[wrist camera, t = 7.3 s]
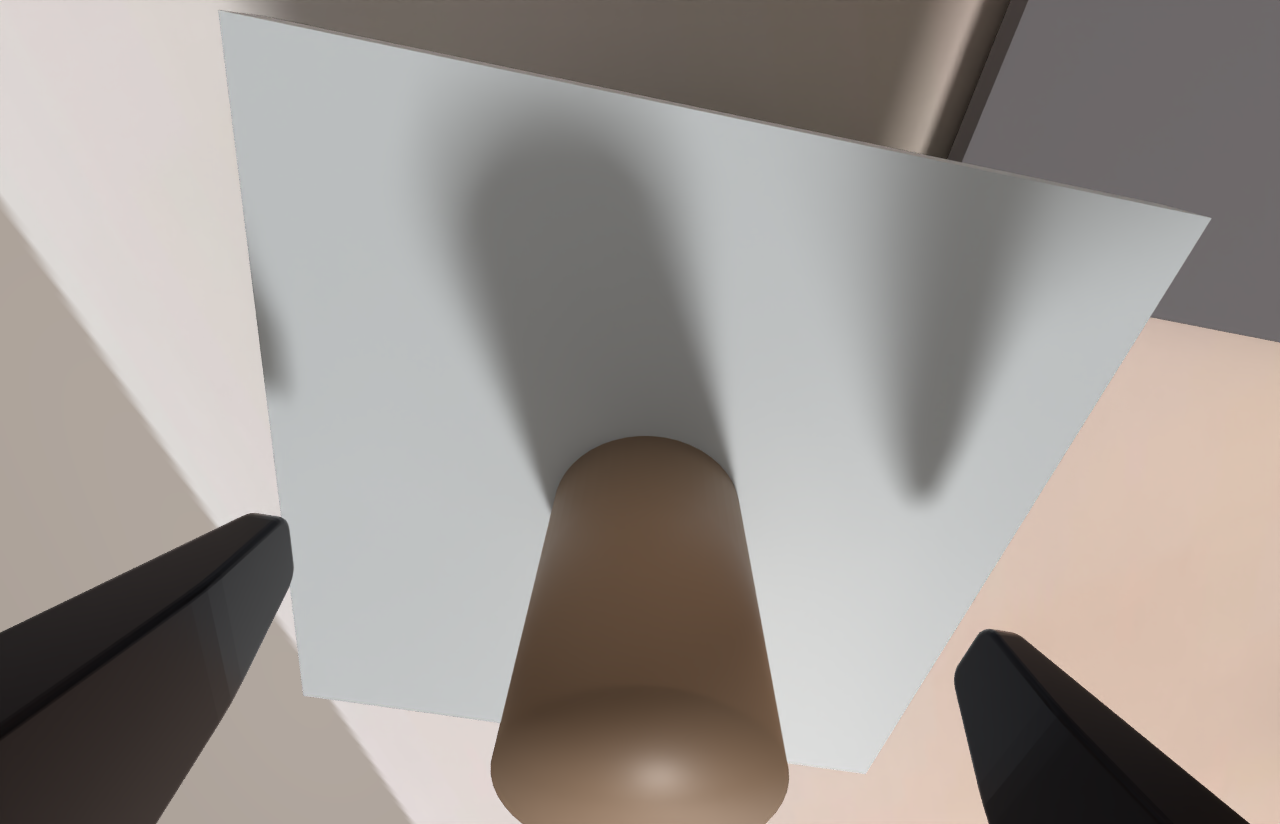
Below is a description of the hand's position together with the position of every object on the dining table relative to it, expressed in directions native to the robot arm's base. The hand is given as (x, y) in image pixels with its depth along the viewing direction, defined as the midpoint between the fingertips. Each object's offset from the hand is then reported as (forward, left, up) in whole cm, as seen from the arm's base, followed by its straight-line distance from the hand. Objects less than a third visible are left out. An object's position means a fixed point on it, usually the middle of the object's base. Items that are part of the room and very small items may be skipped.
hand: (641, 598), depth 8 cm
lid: (0, 0, -2) cm, 2 cm away
